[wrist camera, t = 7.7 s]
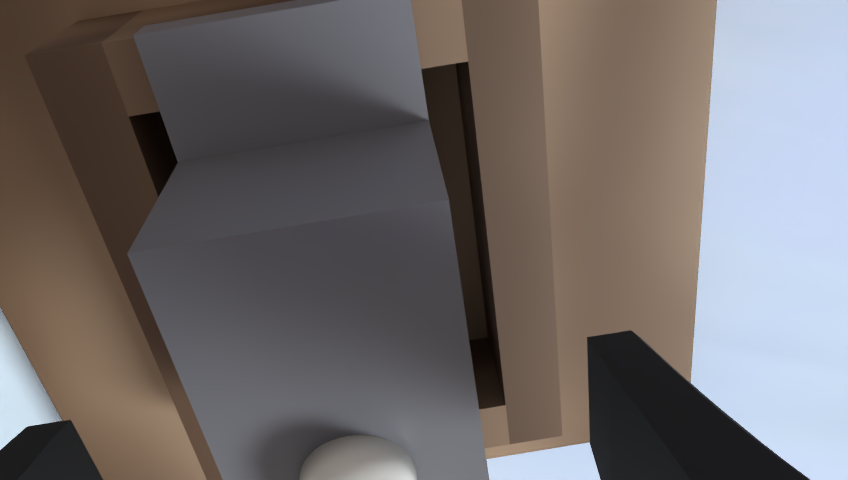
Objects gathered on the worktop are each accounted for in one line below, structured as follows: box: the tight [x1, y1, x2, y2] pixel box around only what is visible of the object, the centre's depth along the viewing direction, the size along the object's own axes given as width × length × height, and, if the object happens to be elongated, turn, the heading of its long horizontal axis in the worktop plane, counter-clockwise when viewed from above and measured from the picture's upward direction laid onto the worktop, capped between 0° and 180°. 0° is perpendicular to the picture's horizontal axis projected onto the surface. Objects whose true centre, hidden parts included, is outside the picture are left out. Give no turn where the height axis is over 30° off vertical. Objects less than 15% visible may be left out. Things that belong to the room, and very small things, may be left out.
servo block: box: [127, 0, 489, 480], centre depth 12 cm, size 4×10×7 cm, turn 8°
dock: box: [0, 0, 717, 480], centre depth 15 cm, size 16×16×3 cm
